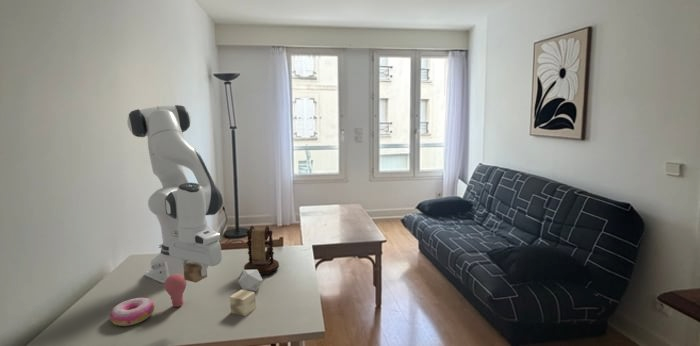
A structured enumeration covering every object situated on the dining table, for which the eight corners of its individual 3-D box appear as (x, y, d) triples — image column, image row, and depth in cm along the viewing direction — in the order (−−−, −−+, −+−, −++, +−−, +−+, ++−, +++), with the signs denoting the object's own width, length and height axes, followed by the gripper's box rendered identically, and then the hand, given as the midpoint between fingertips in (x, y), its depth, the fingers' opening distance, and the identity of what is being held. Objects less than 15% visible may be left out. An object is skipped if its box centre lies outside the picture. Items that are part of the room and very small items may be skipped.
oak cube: (231, 312, 139) (229, 296, 138) (242, 305, 145) (241, 289, 144) (244, 316, 137) (243, 299, 136) (256, 308, 142) (254, 292, 141)
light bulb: (175, 313, 140) (171, 280, 138) (162, 308, 144) (159, 276, 142) (192, 304, 146) (189, 273, 144) (180, 299, 150) (177, 269, 148)
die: (250, 298, 151) (264, 275, 152) (231, 286, 152) (245, 264, 153) (255, 296, 159) (268, 274, 160) (237, 285, 160) (250, 263, 161)
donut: (144, 304, 147) (143, 291, 146) (162, 316, 139) (161, 302, 138) (104, 320, 137) (102, 306, 136) (120, 333, 128) (118, 318, 127)
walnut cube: (184, 279, 133) (183, 265, 132) (196, 274, 137) (195, 260, 136) (195, 282, 131) (194, 267, 130) (207, 276, 135) (206, 262, 134)
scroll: (239, 277, 169) (235, 231, 166) (251, 263, 183) (248, 220, 180) (273, 278, 167) (270, 231, 164) (283, 264, 182) (280, 221, 178)
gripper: (162, 231, 133) (165, 271, 135) (209, 240, 124) (211, 282, 127) (178, 226, 139) (180, 264, 141) (223, 234, 130) (225, 275, 132)
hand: (195, 273), depth 134 cm, fingers closed on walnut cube, 5 cm apart
